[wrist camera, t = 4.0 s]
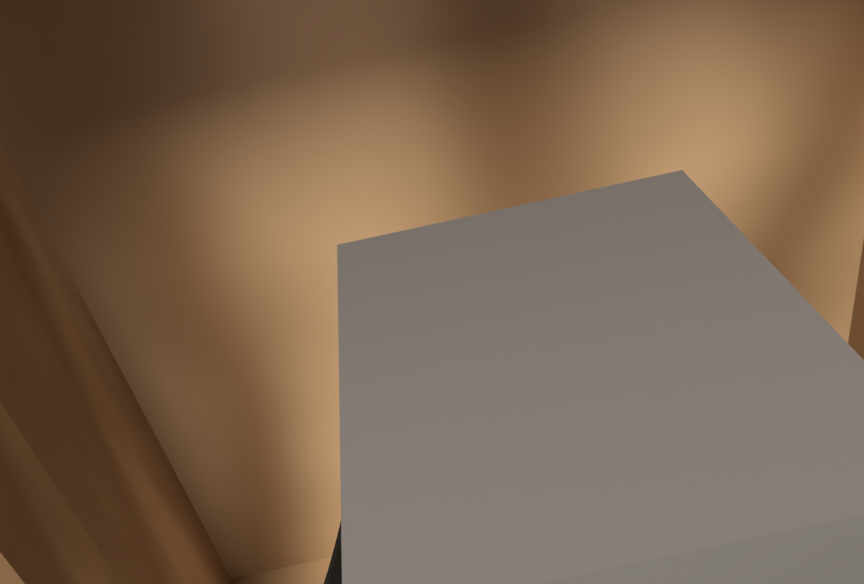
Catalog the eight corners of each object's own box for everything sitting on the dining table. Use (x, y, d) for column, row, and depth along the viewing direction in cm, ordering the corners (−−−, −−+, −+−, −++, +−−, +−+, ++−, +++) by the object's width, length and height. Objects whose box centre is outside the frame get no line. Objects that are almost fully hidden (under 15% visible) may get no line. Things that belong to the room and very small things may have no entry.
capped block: (436, 586, 15) (488, 972, 10) (336, 244, 11) (342, 625, 6) (682, 534, 15) (856, 895, 10) (682, 169, 11) (984, 488, 6)
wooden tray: (261, 657, 25) (242, 892, 20) (-160, -116, 13) (-528, -50, 7) (946, 511, 25) (1117, 708, 20) (1212, -419, 12) (1891, -587, 7)
